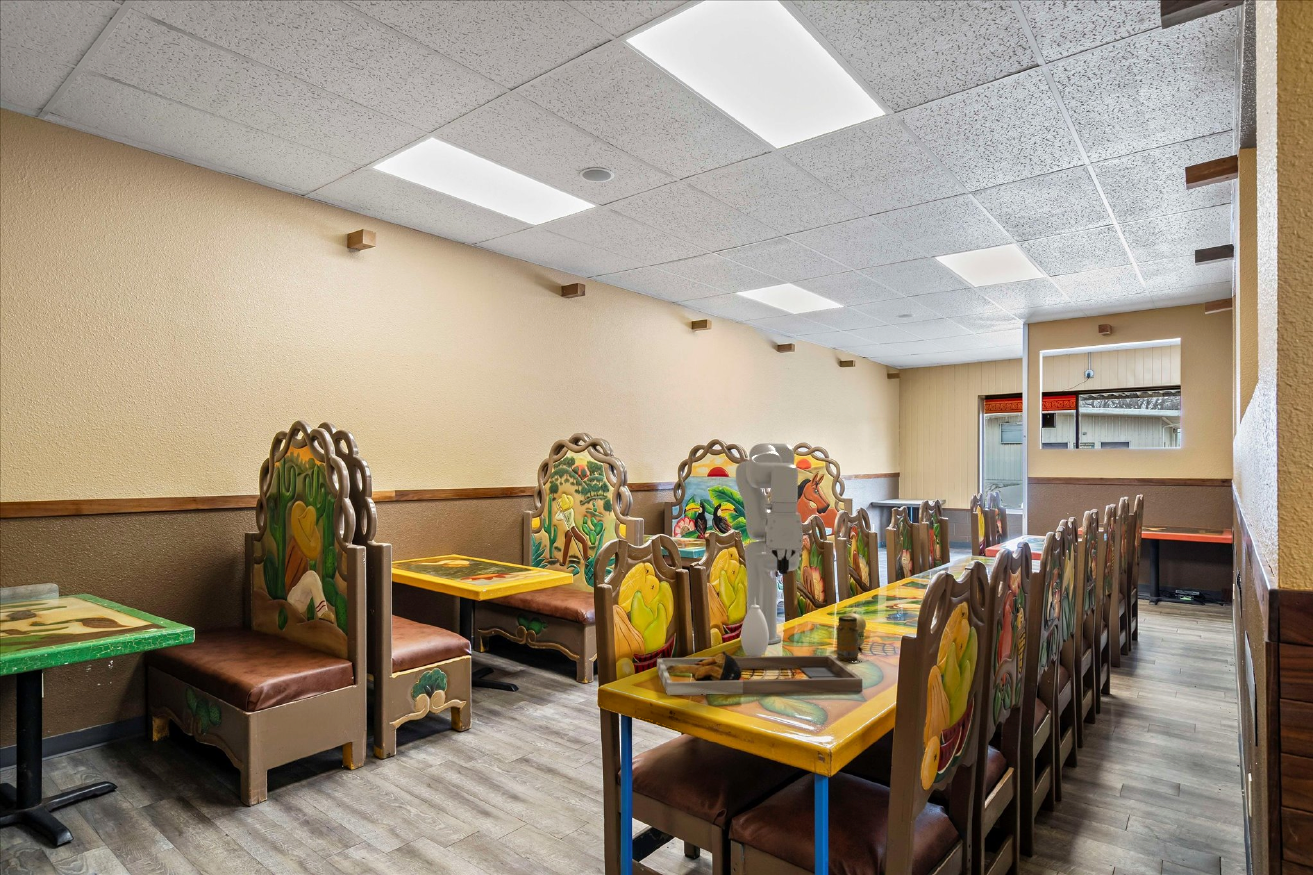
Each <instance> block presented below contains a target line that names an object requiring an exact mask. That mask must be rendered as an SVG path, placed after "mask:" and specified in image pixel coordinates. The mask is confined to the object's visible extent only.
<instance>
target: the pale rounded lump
mask: <svg viewBox="0 0 1313 875" xmlns="http://www.w3.org/2000/svg"><path fill="white" fill-rule="evenodd" d="M843 616H853V617H855V618H857V627H858V647H860V646H862V645H864V643H865V633H866V632H865V630H866V627H867V622H866V619H865V618H864V617H863V616H862V615H860V614H858V613H857V610H855V611H852V612H847V613H845V614H844V615H843Z"/></svg>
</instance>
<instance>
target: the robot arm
mask: <svg viewBox="0 0 1313 875" xmlns="http://www.w3.org/2000/svg"><path fill="white" fill-rule="evenodd" d="M748 458H749V459H748V460H747V461H745V460H744V461H742V462H740V463H738V464H737V466H736V469H735V482H736V486H737V491H738V492H739V495H740V497H741V499H742V502H743V506H744V507H743V508H744V518H745V527H746V532H747V536H748V537H749V538H750V539H751V540H753V542H752V541H751V542H750V543H748V544H747V545H746V547H745V550H744V559H745V568H746V584H747V585H746V594H747V595H746V613H747V612H748V611H749V610H750V609H751V608H750V607H751V605H754V599H755V597H756V605H758V606H759V607H760V608H759V609H760V610H761V611H762V613H763V615H764V617H765V620H766V623H767V626H768V633H769V641H768V645H770V644H772V645H773V644H777V643H780V642H782V635H780V634H779V633H777V629H778V626H777V624H778V623H777V621H778V620H777V618H778V617H777V616H778V613H777V612H778V611H777V610H778V608H777V607H778V605H777V604H778V603H777V602H778V586H777V582H776V581H775V579H774V578H773V577H772V575H770V572H778V573H779V574H780V575H787V574H788V572H791V571H795V570H797V569H798V567H799V565H800V553H802V552H803V546H804V533H803V523H802V522H803V521H802V516H801V513H799V512H798V498H799V497H798V493H799V492H798V491H799V490H798V487H799V486H798V485H799V484H798V482H799V480H798V479H799V469H798V467H797V466H796V465H794V464H795V451H794V449H793V447H792V446H791V445H790V444H787V443H770V442H769V443H758V444H755V445H754V446H752V447H751V449H750V451H749V454H748ZM761 489H770V499H769V498H768V496H766V494H765V493H764V492H763V491H762V490H761Z"/></svg>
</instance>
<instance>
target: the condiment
mask: <svg viewBox="0 0 1313 875" xmlns="http://www.w3.org/2000/svg"><path fill="white" fill-rule="evenodd" d="M837 623H838V625H837V627H836V655H834V656H833V655H831V656H832V657H834V658H835V659H836V660H838V661H844V662H848V663H852V664H858V663H864V662H867V661H869V658H865V657H861V656H859V646H858V627H857V618H855V617H853V616H844V615H840V616H839V617H838V622H837ZM852 661H853V662H852ZM855 661H857V662H855ZM859 661H860V662H859ZM861 661H862V662H861Z"/></svg>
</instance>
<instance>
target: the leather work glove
mask: <svg viewBox="0 0 1313 875" xmlns="http://www.w3.org/2000/svg"><path fill="white" fill-rule="evenodd" d="M733 657H734V656H731V655H730V654H728V653H727V651H726V650H723V651H721V653H719V654H717V655H716V656H715V658H708V659H702V660H700V661H698V662H696V663H695V665H675V666H673V665H671V666H668V667H667V672H668V673H669V672H670V673H672V674H673V673H674V674H681V675H682V674H690V675H691V676H692V678H693V680H694V681H731V680H741V677H742V669H741V667H739V666H738V664H737V662H736V661H735V659H734V658H733Z"/></svg>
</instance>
